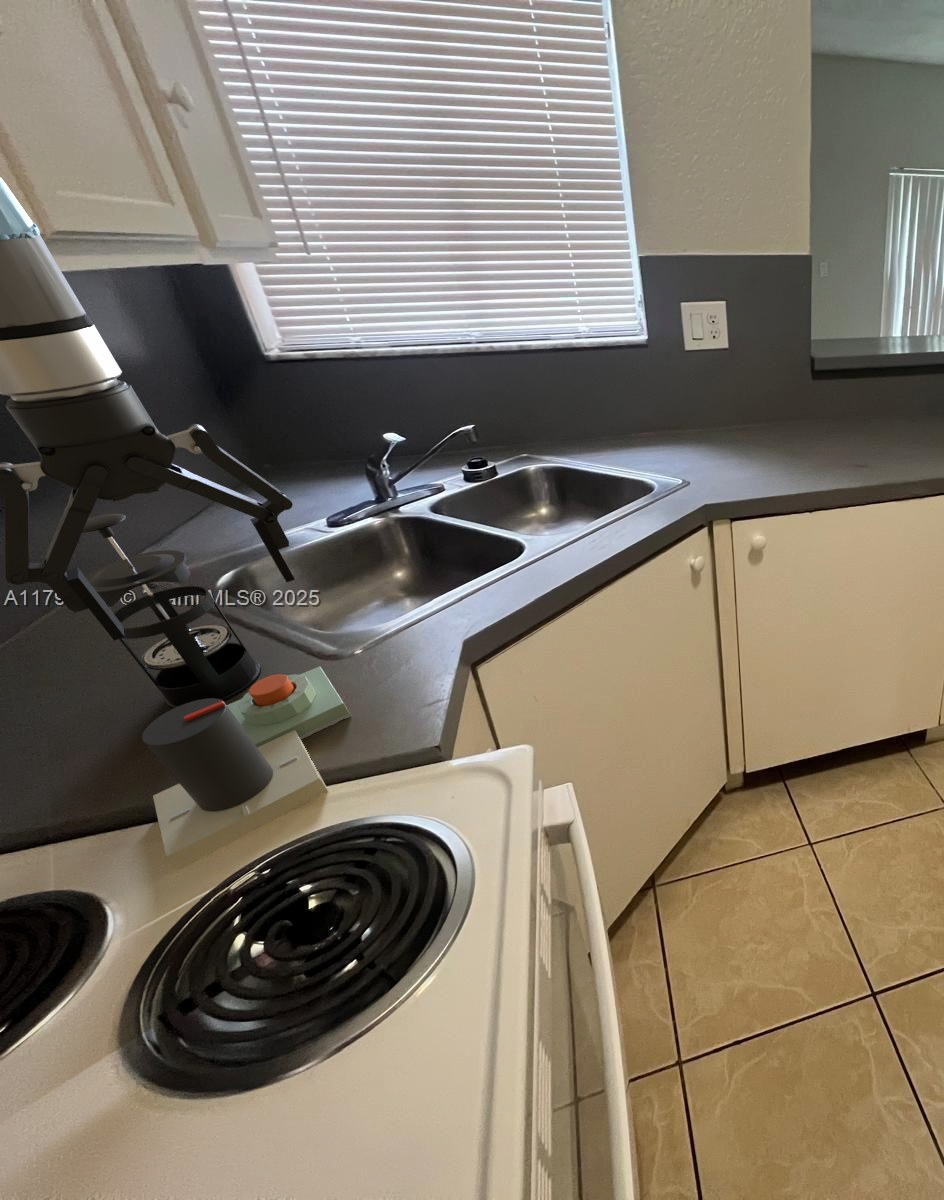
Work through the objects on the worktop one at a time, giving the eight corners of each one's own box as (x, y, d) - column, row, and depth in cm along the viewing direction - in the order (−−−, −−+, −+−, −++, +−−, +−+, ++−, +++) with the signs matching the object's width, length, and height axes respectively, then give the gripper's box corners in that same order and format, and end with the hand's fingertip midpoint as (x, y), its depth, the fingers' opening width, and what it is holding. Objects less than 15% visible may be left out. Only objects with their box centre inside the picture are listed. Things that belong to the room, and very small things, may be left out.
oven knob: (203, 822, 59) (143, 753, 53) (193, 788, 62) (136, 720, 57) (279, 784, 62) (229, 716, 57) (265, 754, 66) (217, 687, 61)
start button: (253, 696, 71) (245, 685, 70) (290, 681, 73) (283, 669, 72) (260, 711, 69) (252, 699, 68) (298, 695, 71) (291, 683, 70)
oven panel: (164, 808, 63) (151, 793, 62) (303, 742, 70) (293, 728, 69) (178, 871, 57) (164, 856, 56) (329, 791, 64) (319, 777, 63)
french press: (272, 683, 78) (164, 517, 66) (177, 725, 73) (38, 552, 60) (247, 647, 85) (144, 490, 72) (158, 683, 79) (28, 519, 66)
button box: (230, 721, 73) (211, 695, 71) (327, 679, 79) (313, 654, 77) (248, 766, 67) (228, 739, 65) (351, 716, 73) (336, 691, 71)
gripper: (242, 354, 61) (338, 546, 73) (-169, 415, 46) (34, 644, 58) (258, 365, 56) (357, 568, 68) (-192, 437, 42) (33, 679, 54)
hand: (208, 603), depth 63 cm, fingers open, 13 cm apart
